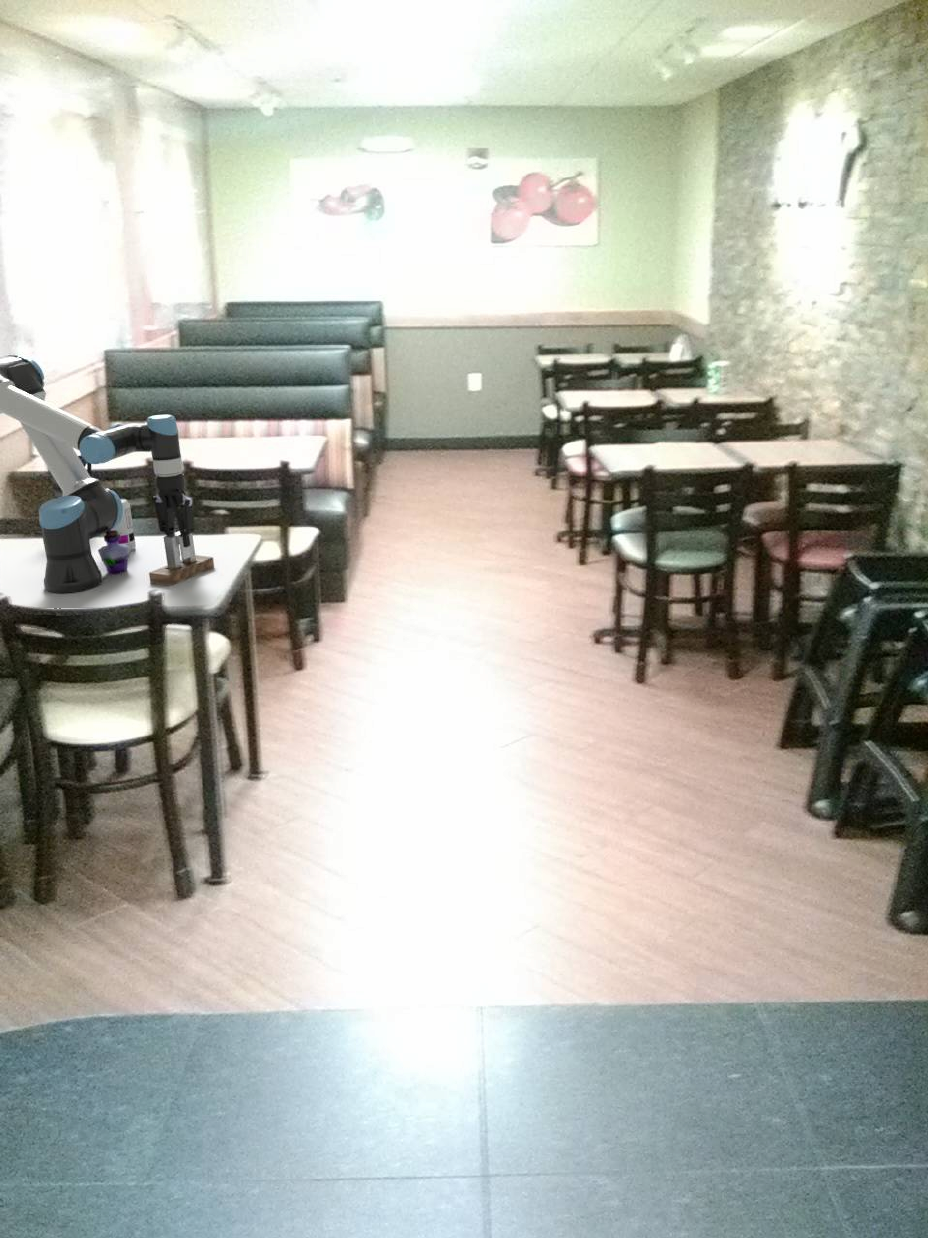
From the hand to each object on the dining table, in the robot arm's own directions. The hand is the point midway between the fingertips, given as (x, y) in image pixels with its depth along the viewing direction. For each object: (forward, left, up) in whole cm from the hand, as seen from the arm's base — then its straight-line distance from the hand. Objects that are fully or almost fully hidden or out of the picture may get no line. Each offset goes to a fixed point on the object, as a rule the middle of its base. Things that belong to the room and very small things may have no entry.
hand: (181, 557), depth 316 cm
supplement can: (+13, +36, -5) cm, 39 cm away
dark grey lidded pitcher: (+24, +65, -5) cm, 69 cm away
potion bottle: (-4, +21, -5) cm, 22 cm away
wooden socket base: (0, 0, -5) cm, 5 cm away
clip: (0, 0, -3) cm, 3 cm away
